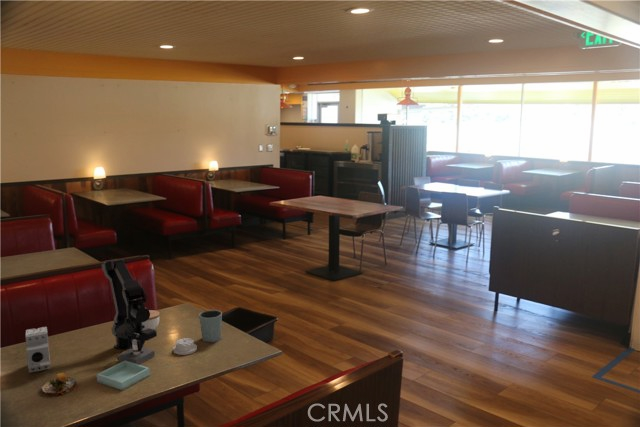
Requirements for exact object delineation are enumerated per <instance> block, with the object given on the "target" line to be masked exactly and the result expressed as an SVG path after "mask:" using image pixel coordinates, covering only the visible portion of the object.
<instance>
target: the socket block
mask: <svg viewBox="0 0 640 427" xmlns="http://www.w3.org/2000/svg"><path fill="white" fill-rule="evenodd" d="M155 356H156V355H155V350H154V349H149V348H145V347H144V346H143V347H142V350H141V351H140V354H139V355H137V356H135V355H133V350H132V349H131V348H129V349H127V350H126V351H124V352H122V353H120V354H118V361H120V362H123V361H128V362H131V363H135V364H138V365H141V364H142V363H145V362H147V361H148V360H151V359H152V358H155Z"/></svg>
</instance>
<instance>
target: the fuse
mask: <svg viewBox="0 0 640 427" xmlns="http://www.w3.org/2000/svg"><path fill="white" fill-rule="evenodd" d="M132 348H133V355H135V356H137V355H139V354H140V352H138V346H137V341H136V340H135V339H134V340H132Z"/></svg>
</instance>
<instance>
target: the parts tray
mask: <svg viewBox="0 0 640 427" xmlns="http://www.w3.org/2000/svg"><path fill="white" fill-rule="evenodd" d="M150 370H151V369H150V367H147V366H144V365H141V364H139V365H138V364H135V363H131V362H128V361H123V362H122V361H120V362H119V363H117V364H115V365H113V366H111V367H108V368H107V369H105V370H103V371H101V372H99V373H96V382H97V383H99V384H102V385H105V386H108V387H111V388H115V389H116V390H120V391H124V390H125V389H128V388H130V387H131V386H133V385H135V384H137V383H139V382H141V381H142V380H144V379H146V378H147V377H149V376H150V375H151V371H150Z"/></svg>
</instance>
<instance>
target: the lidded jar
mask: <svg viewBox="0 0 640 427" xmlns="http://www.w3.org/2000/svg"><path fill="white" fill-rule="evenodd" d="M148 310H149V312H150V317H149V319H148V320H147V321H145V322H142V325H145V328H143V329H142V330H146V329H148V328H149V329H153V330H156V329H157V327H158V326H159V323H160V312H159V311H158V310H154V309H148Z"/></svg>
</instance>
